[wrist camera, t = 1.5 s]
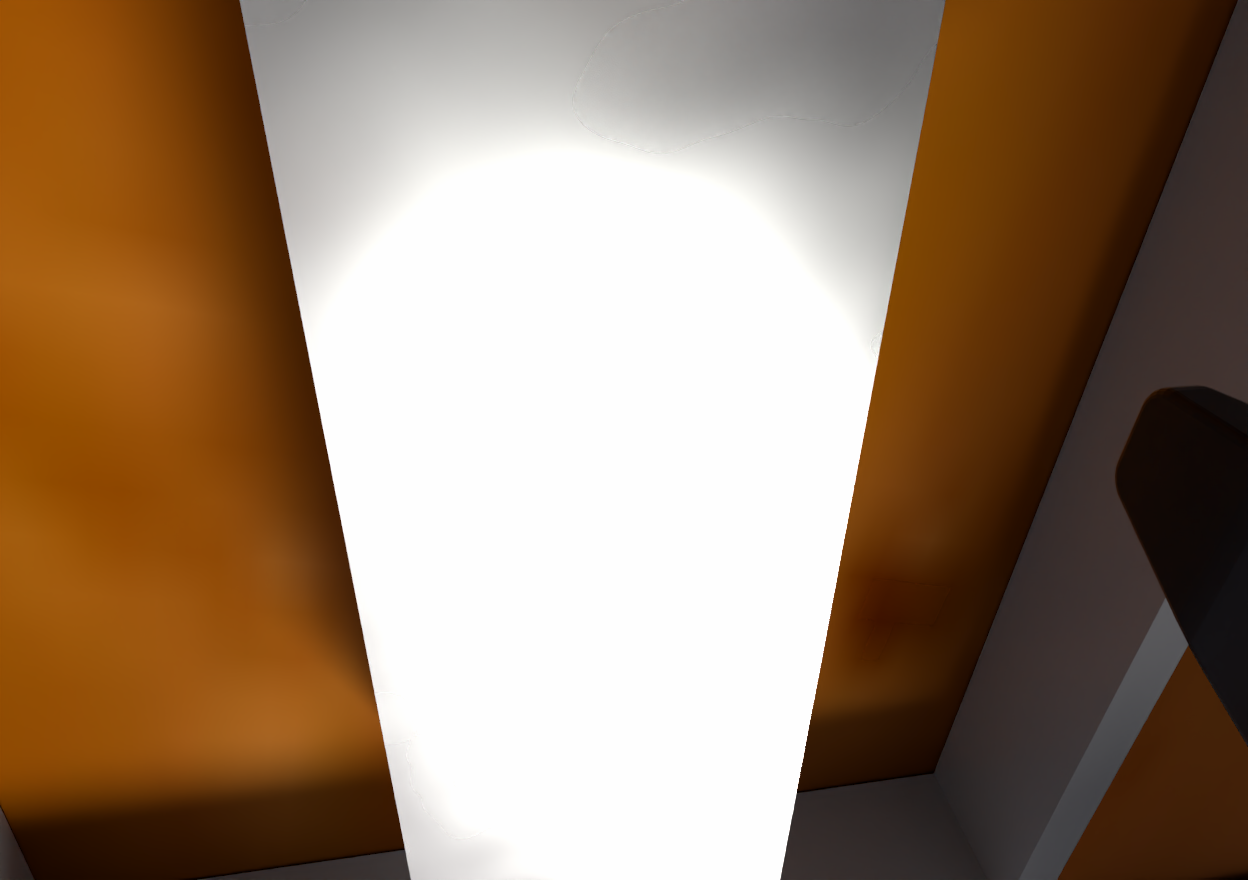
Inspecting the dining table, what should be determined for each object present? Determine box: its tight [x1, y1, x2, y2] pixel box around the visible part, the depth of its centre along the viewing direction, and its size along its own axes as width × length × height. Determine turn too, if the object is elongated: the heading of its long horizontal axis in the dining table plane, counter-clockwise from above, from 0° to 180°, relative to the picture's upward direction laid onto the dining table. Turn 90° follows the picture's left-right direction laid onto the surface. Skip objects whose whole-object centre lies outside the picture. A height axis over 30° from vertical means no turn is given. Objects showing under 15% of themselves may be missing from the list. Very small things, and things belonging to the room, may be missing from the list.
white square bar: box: [240, 0, 945, 880], centre depth 10 cm, size 4×16×4 cm, turn 179°
